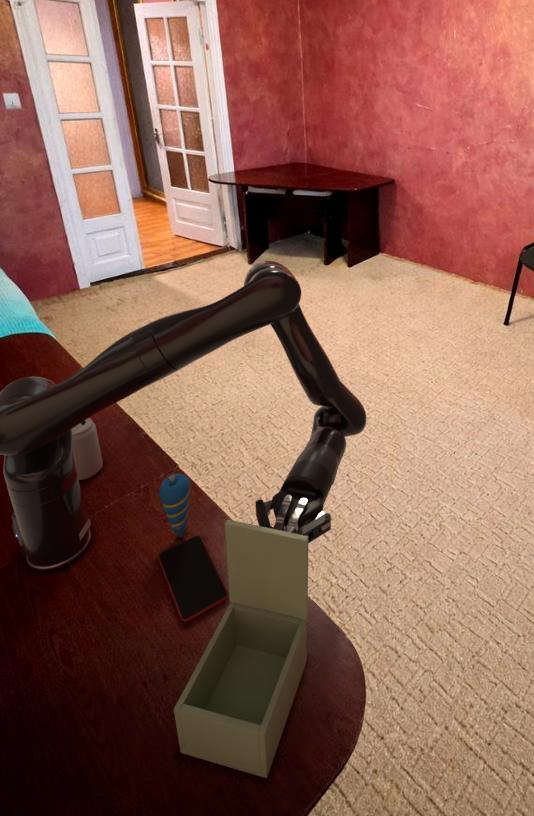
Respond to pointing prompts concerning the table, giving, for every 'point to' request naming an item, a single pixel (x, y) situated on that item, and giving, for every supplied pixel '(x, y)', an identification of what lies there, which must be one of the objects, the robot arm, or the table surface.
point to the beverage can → (86, 449)
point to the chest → (243, 689)
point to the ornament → (176, 501)
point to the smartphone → (192, 578)
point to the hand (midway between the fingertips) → (268, 564)
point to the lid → (267, 568)
